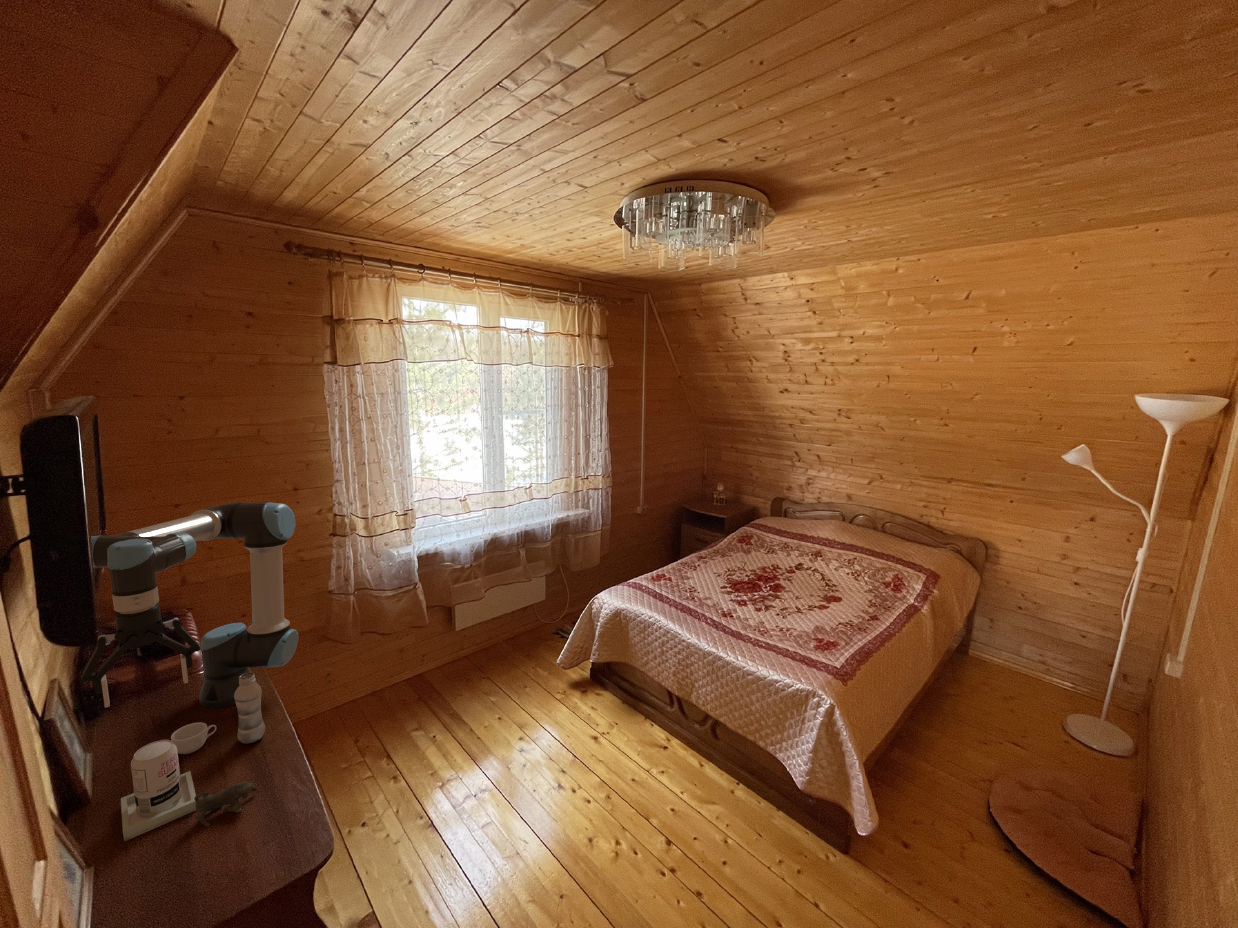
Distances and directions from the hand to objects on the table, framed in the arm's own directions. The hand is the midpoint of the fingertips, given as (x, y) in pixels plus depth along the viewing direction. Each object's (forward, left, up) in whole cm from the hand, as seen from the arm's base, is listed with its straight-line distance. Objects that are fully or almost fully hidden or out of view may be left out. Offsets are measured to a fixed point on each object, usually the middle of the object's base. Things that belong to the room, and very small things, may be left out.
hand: (148, 692), depth 120 cm
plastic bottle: (-14, +21, -31) cm, 40 cm away
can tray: (0, 0, -31) cm, 31 cm away
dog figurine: (+12, +11, -31) cm, 35 cm away
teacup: (-21, +9, -31) cm, 38 cm away
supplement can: (0, 0, -30) cm, 30 cm away
